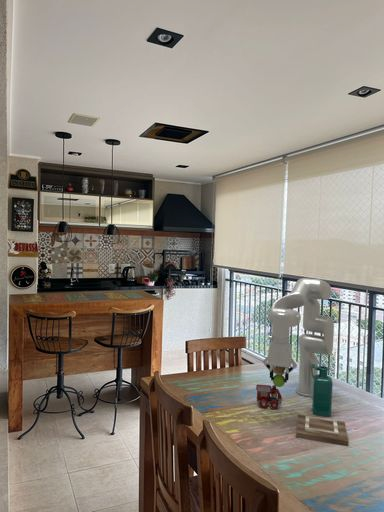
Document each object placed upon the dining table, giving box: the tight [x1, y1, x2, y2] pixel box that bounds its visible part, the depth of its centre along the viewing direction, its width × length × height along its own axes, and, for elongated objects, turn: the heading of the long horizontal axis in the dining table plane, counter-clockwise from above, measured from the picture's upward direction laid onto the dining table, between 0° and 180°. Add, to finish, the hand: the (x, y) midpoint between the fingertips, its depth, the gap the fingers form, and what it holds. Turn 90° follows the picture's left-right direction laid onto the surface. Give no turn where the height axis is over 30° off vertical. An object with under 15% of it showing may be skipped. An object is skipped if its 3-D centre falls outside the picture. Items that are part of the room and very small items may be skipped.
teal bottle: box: [311, 364, 333, 418], centre depth 183 cm, size 10×8×22 cm
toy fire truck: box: [255, 383, 283, 410], centre depth 188 cm, size 7×12×10 cm, turn 84°
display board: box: [295, 414, 349, 447], centre depth 164 cm, size 18×20×3 cm
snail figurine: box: [272, 366, 286, 388], centre depth 170 cm, size 5×6×12 cm
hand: (278, 380), depth 170 cm, fingers closed on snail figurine, 5 cm apart
